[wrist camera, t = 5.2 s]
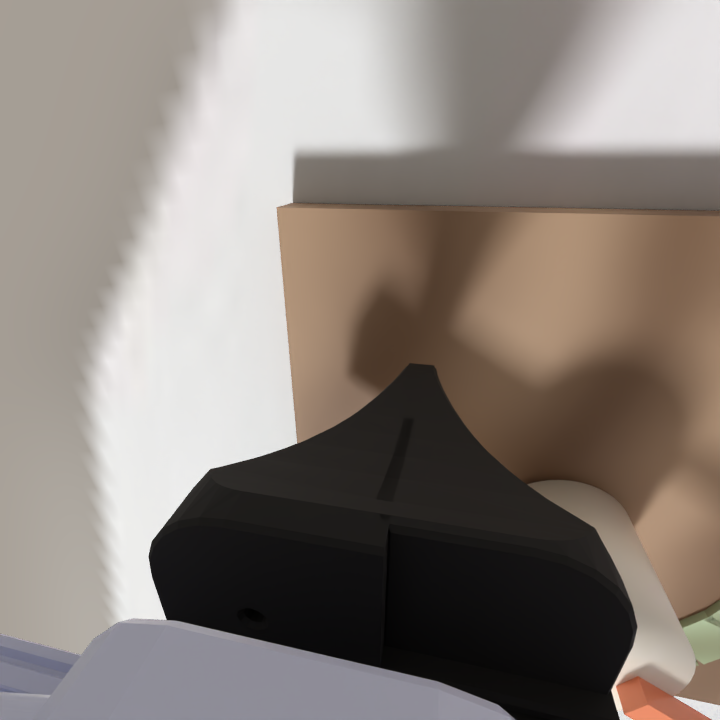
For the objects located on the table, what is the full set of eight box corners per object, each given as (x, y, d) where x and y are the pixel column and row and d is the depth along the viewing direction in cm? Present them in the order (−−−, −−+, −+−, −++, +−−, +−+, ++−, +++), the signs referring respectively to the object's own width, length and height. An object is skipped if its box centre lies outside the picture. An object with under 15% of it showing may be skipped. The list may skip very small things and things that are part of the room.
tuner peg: (798, 611, 13) (949, 813, 9) (679, 664, 15) (759, 846, 11) (388, 356, 12) (354, 455, 8) (322, 449, 14) (269, 565, 10)
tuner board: (1084, 217, 9) (1189, 227, 8) (742, 679, 17) (766, 722, 16) (292, 203, 12) (273, 208, 11) (320, 594, 20) (310, 624, 19)
